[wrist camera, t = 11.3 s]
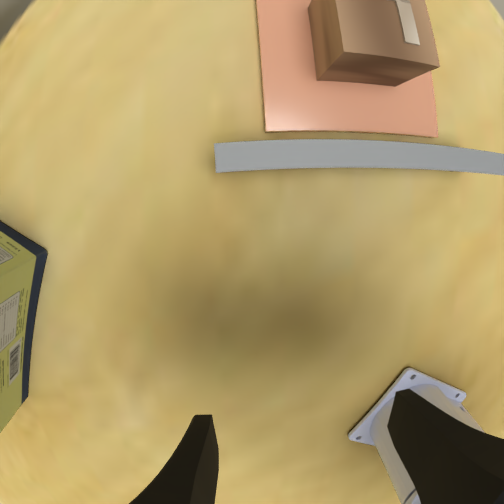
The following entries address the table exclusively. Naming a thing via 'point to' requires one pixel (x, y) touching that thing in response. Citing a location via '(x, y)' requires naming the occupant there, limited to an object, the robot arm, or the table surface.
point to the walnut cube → (371, 40)
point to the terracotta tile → (330, 85)
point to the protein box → (17, 315)
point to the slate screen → (352, 156)
